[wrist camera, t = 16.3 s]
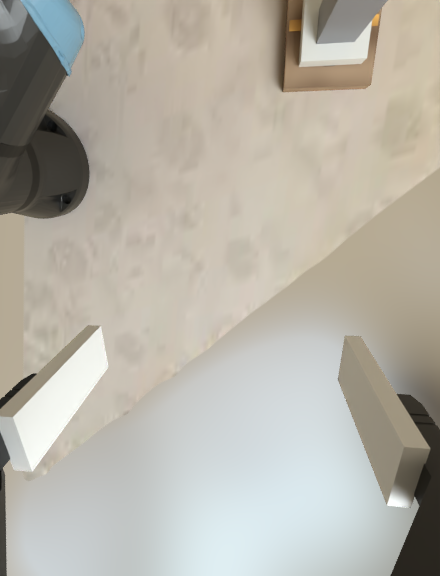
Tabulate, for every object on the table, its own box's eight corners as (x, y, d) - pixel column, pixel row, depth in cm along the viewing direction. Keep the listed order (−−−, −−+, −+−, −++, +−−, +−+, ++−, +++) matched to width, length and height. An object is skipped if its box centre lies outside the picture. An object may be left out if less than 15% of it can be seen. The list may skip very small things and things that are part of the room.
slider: (361, 63, 34) (424, 1, 22) (298, 67, 35) (323, 9, 22) (369, -4, 32) (446, -118, 19) (303, 1, 33) (333, -105, 20)
